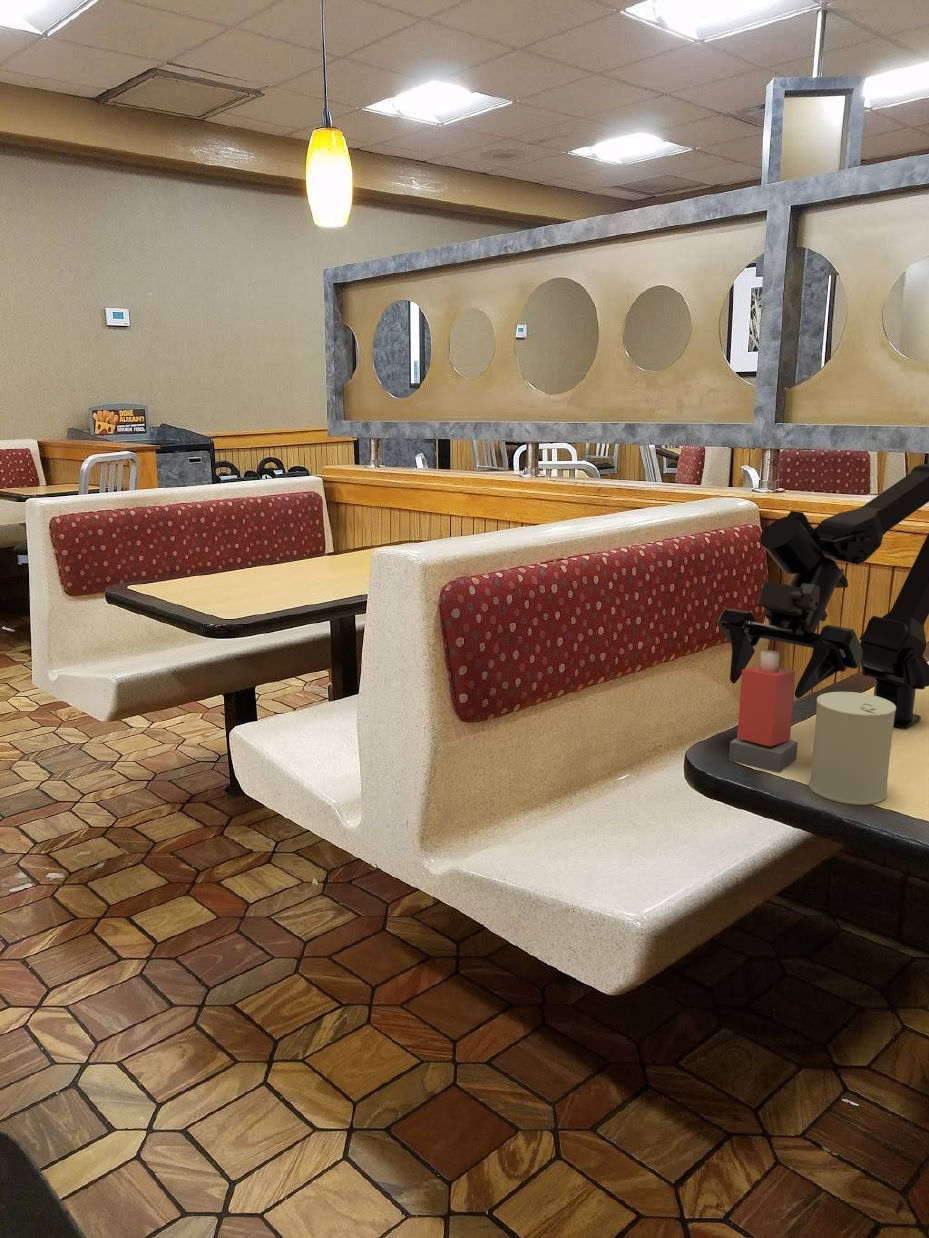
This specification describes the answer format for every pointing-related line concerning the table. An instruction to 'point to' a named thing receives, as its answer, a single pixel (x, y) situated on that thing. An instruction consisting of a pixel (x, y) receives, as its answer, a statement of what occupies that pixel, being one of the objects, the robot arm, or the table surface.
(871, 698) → the can
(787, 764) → the grey box
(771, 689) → the ketchup bottle
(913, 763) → the table surface
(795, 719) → the table surface
